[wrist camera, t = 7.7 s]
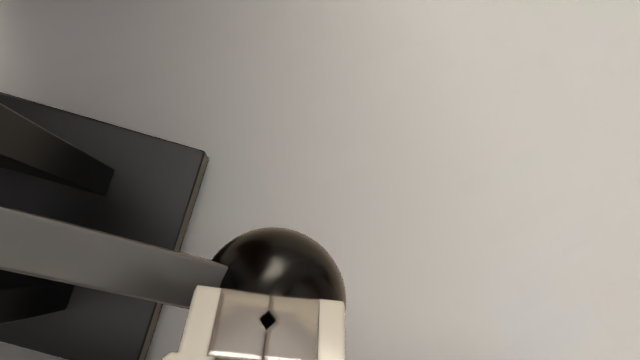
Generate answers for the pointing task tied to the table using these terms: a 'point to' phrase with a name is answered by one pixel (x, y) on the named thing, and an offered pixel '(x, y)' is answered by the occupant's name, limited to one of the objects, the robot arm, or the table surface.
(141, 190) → the bracket
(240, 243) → the lever
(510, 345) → the table surface
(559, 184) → the table surface
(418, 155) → the table surface
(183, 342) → the robot arm
